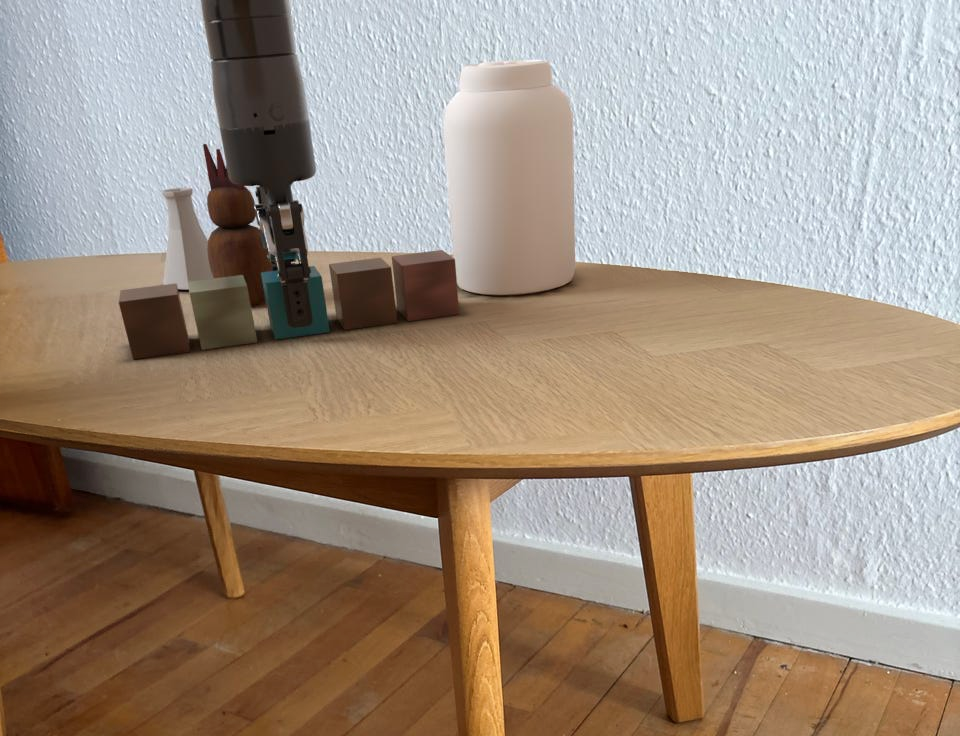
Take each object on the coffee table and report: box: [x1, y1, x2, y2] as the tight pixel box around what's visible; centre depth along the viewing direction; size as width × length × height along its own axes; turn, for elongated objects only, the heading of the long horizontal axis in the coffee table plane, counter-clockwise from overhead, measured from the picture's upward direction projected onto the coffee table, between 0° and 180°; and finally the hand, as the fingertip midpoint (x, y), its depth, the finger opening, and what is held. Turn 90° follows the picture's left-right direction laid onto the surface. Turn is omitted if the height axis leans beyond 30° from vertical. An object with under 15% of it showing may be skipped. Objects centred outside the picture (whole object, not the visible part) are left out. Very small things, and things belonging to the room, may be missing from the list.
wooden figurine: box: [202, 143, 275, 307], centre depth 100 cm, size 7×6×15 cm
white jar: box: [442, 59, 576, 296], centre depth 98 cm, size 12×12×20 cm
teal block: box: [261, 265, 331, 340], centre depth 92 cm, size 5×5×5 cm
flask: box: [160, 187, 214, 290], centre depth 111 cm, size 7×7×10 cm
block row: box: [118, 249, 460, 360], centre depth 92 cm, size 30×5×5 cm, turn 106°
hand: (295, 315), depth 92 cm, fingers open, 8 cm apart
